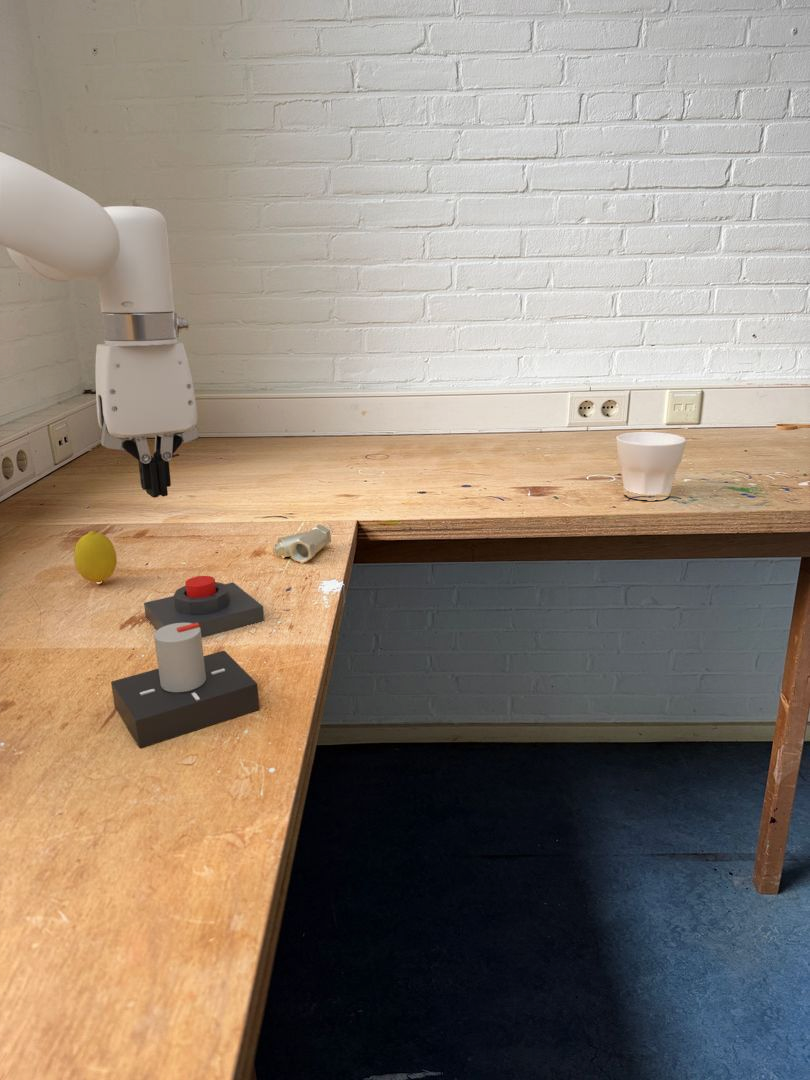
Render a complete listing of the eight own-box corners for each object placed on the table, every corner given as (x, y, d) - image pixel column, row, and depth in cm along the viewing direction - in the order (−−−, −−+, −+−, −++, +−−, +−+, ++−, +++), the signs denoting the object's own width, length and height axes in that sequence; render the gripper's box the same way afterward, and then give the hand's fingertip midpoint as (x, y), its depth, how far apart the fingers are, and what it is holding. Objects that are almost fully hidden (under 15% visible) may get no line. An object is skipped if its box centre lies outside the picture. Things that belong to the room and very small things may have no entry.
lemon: (123, 586, 113) (116, 532, 110) (82, 594, 110) (73, 539, 108) (115, 574, 117) (108, 522, 115) (75, 582, 115) (67, 529, 112)
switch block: (170, 647, 94) (166, 615, 93) (145, 618, 102) (141, 589, 101) (264, 622, 100) (261, 592, 99) (234, 597, 108) (231, 569, 107)
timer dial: (168, 697, 77) (161, 642, 75) (154, 679, 80) (147, 626, 78) (212, 684, 79) (206, 630, 77) (197, 667, 82) (191, 615, 81)
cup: (690, 503, 146) (696, 444, 142) (622, 505, 146) (626, 445, 142) (668, 486, 157) (673, 430, 154) (605, 487, 157) (608, 432, 154)
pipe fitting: (271, 564, 121) (312, 564, 119) (267, 539, 120) (308, 539, 118) (293, 547, 129) (332, 547, 126) (290, 524, 127) (329, 524, 125)
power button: (192, 601, 98) (190, 588, 97) (182, 592, 100) (181, 579, 100) (220, 594, 99) (219, 581, 99) (210, 586, 102) (209, 573, 102)
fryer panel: (139, 748, 74) (135, 718, 73) (114, 707, 81) (110, 679, 80) (260, 709, 80) (257, 681, 79) (227, 674, 87) (224, 648, 86)
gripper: (195, 326, 93) (207, 479, 99) (59, 331, 85) (81, 496, 91) (218, 329, 87) (230, 492, 93) (75, 334, 79) (97, 511, 85)
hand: (156, 494), depth 92 cm, fingers closed
